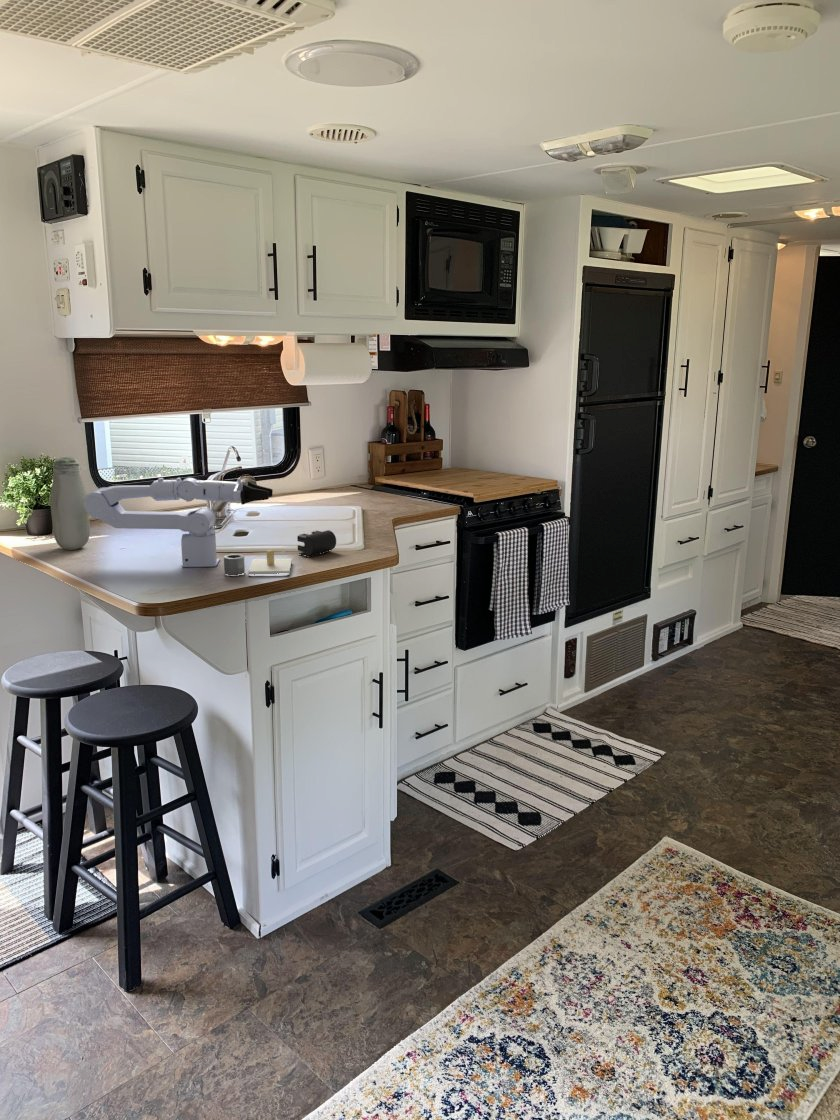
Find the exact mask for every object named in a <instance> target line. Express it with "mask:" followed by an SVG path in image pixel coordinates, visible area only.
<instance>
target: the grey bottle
mask: <svg viewBox="0 0 840 1120" xmlns="http://www.w3.org/2000/svg"><path fill="white" fill-rule="evenodd" d="M80 465H81V464H80V463H79V461H78V460H77V459H76V458H75V457H72V456H64V457H59V458H57V459H55V461H54V463H53V465H52V471H53V475H52V485H51V488H50V495H49V502H50V504H49V505H50V515H51V521H52V522H51V523H52V529H53V530H52V532H53V536H54V539H55V542H56V544H57V545H58V546H59V547H60V548H62V549H64V550H69V551H74V550H78V549H81V548H84V546H86V545H87V543H88V542H89V538H90V536H91V526H90V516H89V515H90V514H89V513H88V512H87V511H86V509H85V507H84V503H83V502H84V498H85V497H86V495H88V494H87V489H86V486H85V484H84V481H83V478H82V474H81V466H80Z"/></svg>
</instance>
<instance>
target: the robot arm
mask: <svg viewBox="0 0 840 1120" xmlns="http://www.w3.org/2000/svg"><path fill="white" fill-rule="evenodd" d="M241 478H242V477H238V478H237V481H226V480H225V481H223V480H208V479H206V480H201V479H196V478H194V477H185V478H184V479H183V480H182V477H177V478H176V479H164V477H159V478H158V479H157V480H153V482H152V483H151V484H150V485H149V484H147V485H143V484H142V485H111V486H108V487H106V486H105V487H104V486H103V487H99V488H98V489H96V490H95V491H93V492H89V493H88V494H87V495H86V497H85V498H84V502H83V503H84V507H85V509H86V511H87V512H88V513H89V515H90V516H91V518H94V519H96V520H100V521H102V522H104V523H105V524H107V525H109V526H110V527H113V528H114V529H124V530H125V529H126V530H127V529H128V530H129V529H130V530H132V529H133V530H134V529H135V530H136V529H139V530H140V529H141V530H144V529H145V530H179V531H181V532H186V533H183V534H181V540H180V541H181V542H180V543H181V560H182V561H181V562H182V565H181V566H182V568H195V567H197V568H200V567H201V568H202V567H206V568H208V567H217V566H218V564H219V562H220V560H221V559H220V557H219V558H217V557H218V556H217V541H216V540H217V539H216V530H215V529H214V527H213V526H214V525H215V524H216V522H217V516H216V513H215V511H213V509H211V508H209V507H200V508H198V509H195V510H191V509H190V510H185V511H149V510H148V511H146V510H145V511H144V510H143V511H141V510H139V511H137V510H136V511H135V510H125V509H124V508H123V506H122V505H121V503H120V501H122V500H123V499H139V498H140V499H141V498H149V497H150V498H152V499H154V501H157V502H161V501H164V502H165V501H166V502H167V501H179V500H183V501H185V502H187V503H188V502H192V501H194V500H199V501H200V500H202V501H209V502H225V503H236V504H241V505H242V506H243V505H245V504H249V503H252V502H258V501H265V500H269V498H271V497H273V494H274V493H273V490H274V489H272V488H269V487H265V486H261V485H258V484H256V483H254V482H252V481H250V480H249V481H247V484H246V483H242V479H241ZM187 532H188V533H187Z"/></svg>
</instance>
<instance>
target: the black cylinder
mask: <svg viewBox="0 0 840 1120" xmlns="http://www.w3.org/2000/svg"><path fill="white" fill-rule="evenodd" d="M297 542H299V543H303V544H304V545H300V544H298V545H297V551H298V552H299V553H298V555H299V554H301V555H306V556H311V557H313V556H312V555H315V556H317V555H316V554H319V555H321V554H320V553H323V552H326V551H329V550H331V551H332V550H334V549H335V547H336V545H337V537H336V535H335V533H334V532H333V531H331V530H329V529H328V530H324V531H320V530H313V531H311V534H309V533H302V534H301V533H300V534H298V535H297ZM323 554H324V553H323Z"/></svg>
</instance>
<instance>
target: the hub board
mask: <svg viewBox="0 0 840 1120" xmlns="http://www.w3.org/2000/svg"><path fill="white" fill-rule="evenodd" d="M291 564H292V565H293V559H292V558H291V557H290V558H288V557H287V558H284V557H283V558H275V551H274V550H272V549H268V550H266V558H253V559H252V560H251V564H250V566H249V569H248V572H247V573H248V575H249V574H254V575H255V574H277V573H278V574H279V573H290V574H291V571H290V568H291V569H292V566H291Z"/></svg>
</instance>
